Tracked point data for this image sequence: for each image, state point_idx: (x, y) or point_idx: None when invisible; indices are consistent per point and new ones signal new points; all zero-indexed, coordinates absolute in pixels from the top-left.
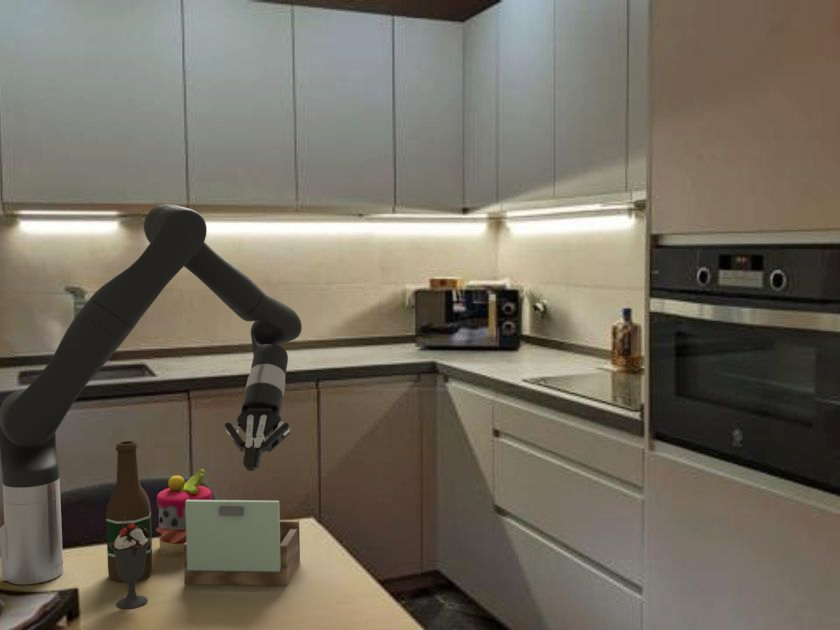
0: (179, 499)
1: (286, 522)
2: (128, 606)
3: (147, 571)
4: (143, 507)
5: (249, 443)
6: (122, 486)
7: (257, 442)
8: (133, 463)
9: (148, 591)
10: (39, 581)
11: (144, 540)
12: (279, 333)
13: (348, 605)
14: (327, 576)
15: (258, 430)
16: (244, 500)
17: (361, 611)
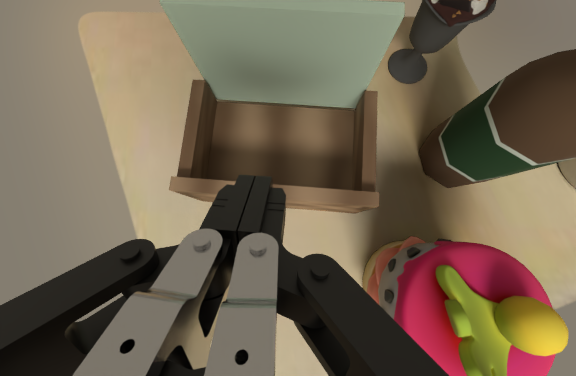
0: (469, 248)
1: (195, 178)
2: (405, 49)
3: (424, 144)
4: (516, 82)
5: (252, 256)
6: None
7: (198, 260)
8: None
9: (399, 100)
10: None
11: None
12: None
13: (136, 53)
14: (161, 144)
15: (151, 342)
16: (249, 4)
17: (122, 38)
